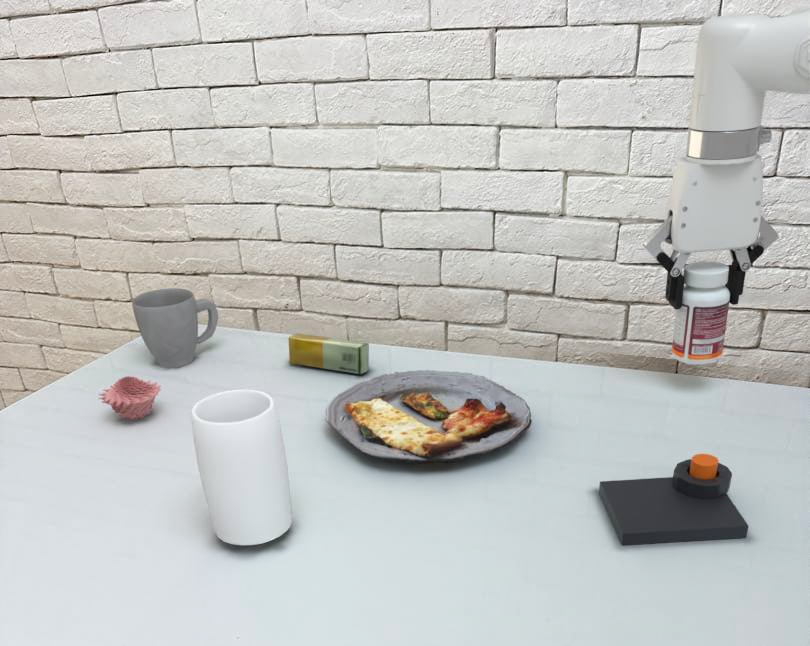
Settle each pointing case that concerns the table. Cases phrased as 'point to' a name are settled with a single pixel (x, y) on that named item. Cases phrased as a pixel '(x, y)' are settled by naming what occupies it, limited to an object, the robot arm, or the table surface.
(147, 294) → the mug
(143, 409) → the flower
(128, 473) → the table surface
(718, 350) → the pill bottle
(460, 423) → the food plate
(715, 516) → the scale
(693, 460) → the button
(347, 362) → the medication box
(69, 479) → the table surface
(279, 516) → the cup
